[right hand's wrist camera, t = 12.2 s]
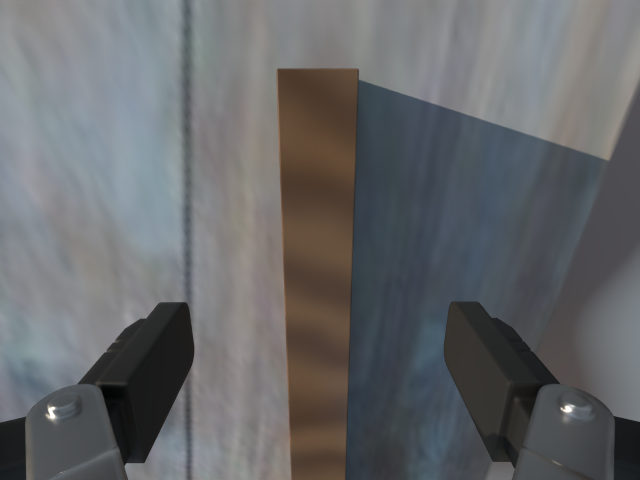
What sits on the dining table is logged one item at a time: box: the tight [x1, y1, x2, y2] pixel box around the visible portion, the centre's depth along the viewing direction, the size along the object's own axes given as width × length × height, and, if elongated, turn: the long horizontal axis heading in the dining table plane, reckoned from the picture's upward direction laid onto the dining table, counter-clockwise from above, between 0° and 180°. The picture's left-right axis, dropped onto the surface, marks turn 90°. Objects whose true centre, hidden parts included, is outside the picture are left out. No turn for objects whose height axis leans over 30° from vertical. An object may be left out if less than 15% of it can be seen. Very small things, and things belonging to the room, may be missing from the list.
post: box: [276, 69, 359, 480], centre depth 36 cm, size 72×5×6 cm, turn 0°
